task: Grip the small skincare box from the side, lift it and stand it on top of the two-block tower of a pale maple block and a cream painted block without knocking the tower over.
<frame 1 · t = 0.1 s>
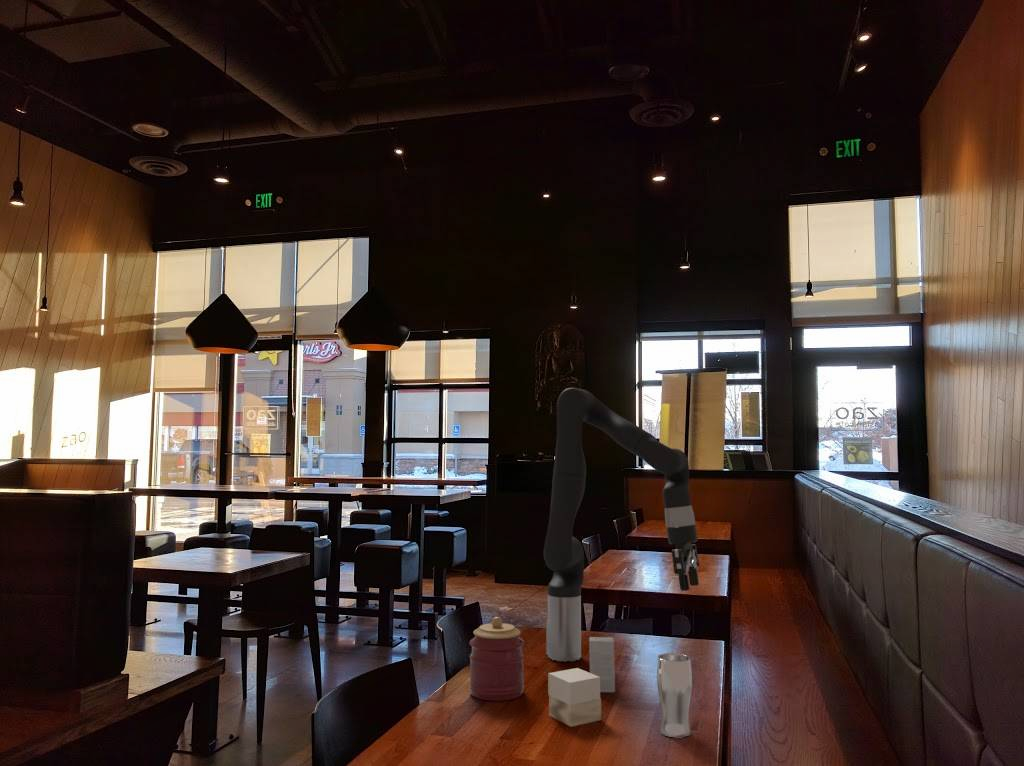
hand: (690, 587, 194), 22 cm above the table, tool pointing down, fingers open, 8 cm apart
canister: (496, 694, 178), on the table
tower top block: (574, 696, 162), point 4 cm above the table
beer glass: (675, 734, 153), on the table
skincare box: (602, 690, 181), on the table
tower bottom block: (574, 718, 162), on the table
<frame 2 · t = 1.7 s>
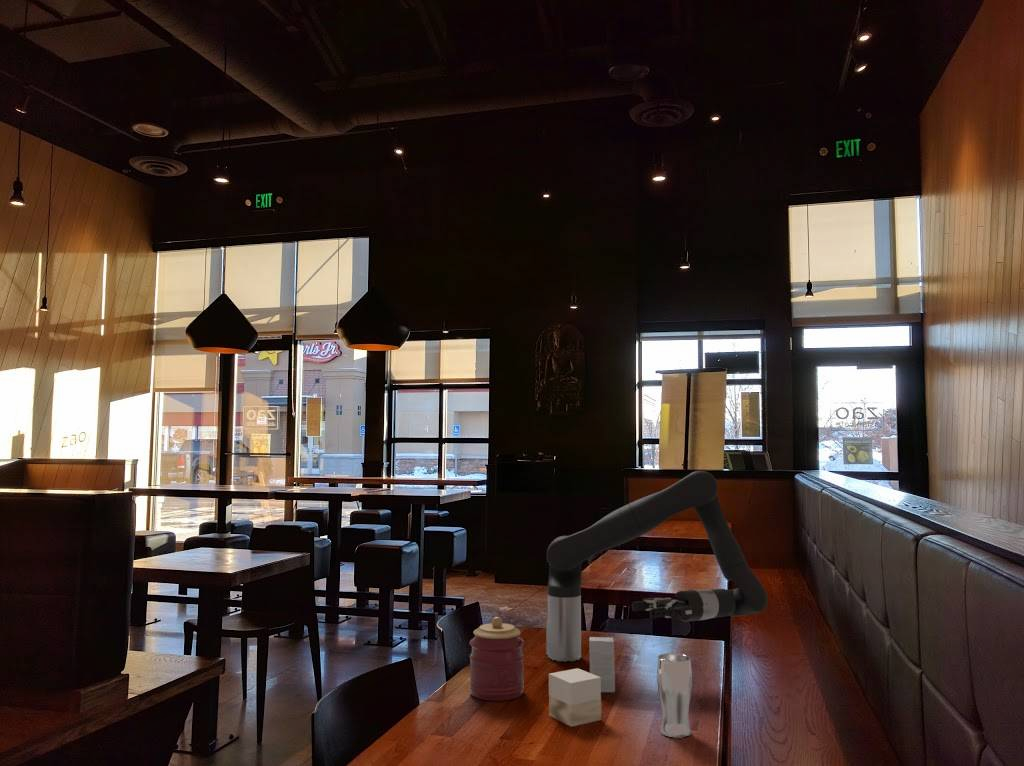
hand: (641, 610, 187), 18 cm above the table, tool horizontal, fingers open, 8 cm apart
tower top block: (574, 696, 162), point 4 cm above the table, touching tower bottom block
tower bottom block: (575, 718, 162), on the table, touching tower top block
everything else where it was.
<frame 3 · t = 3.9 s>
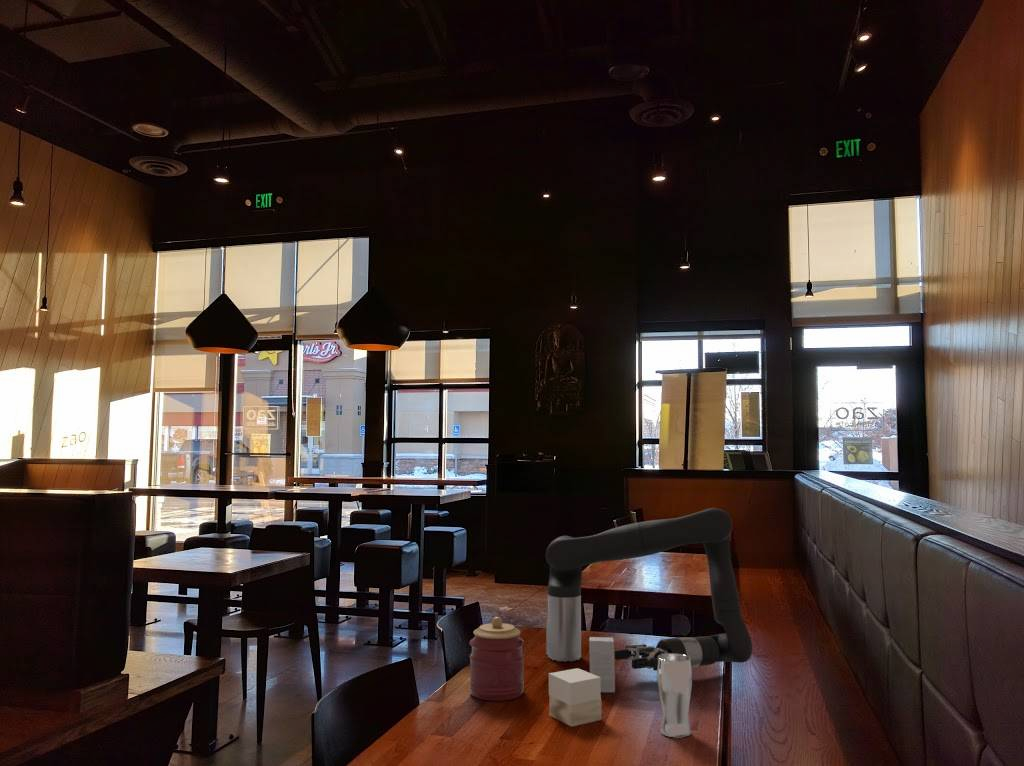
hand: (623, 659, 184), 7 cm above the table, tool horizontal, fingers open, 8 cm apart
nothing on the table moved.
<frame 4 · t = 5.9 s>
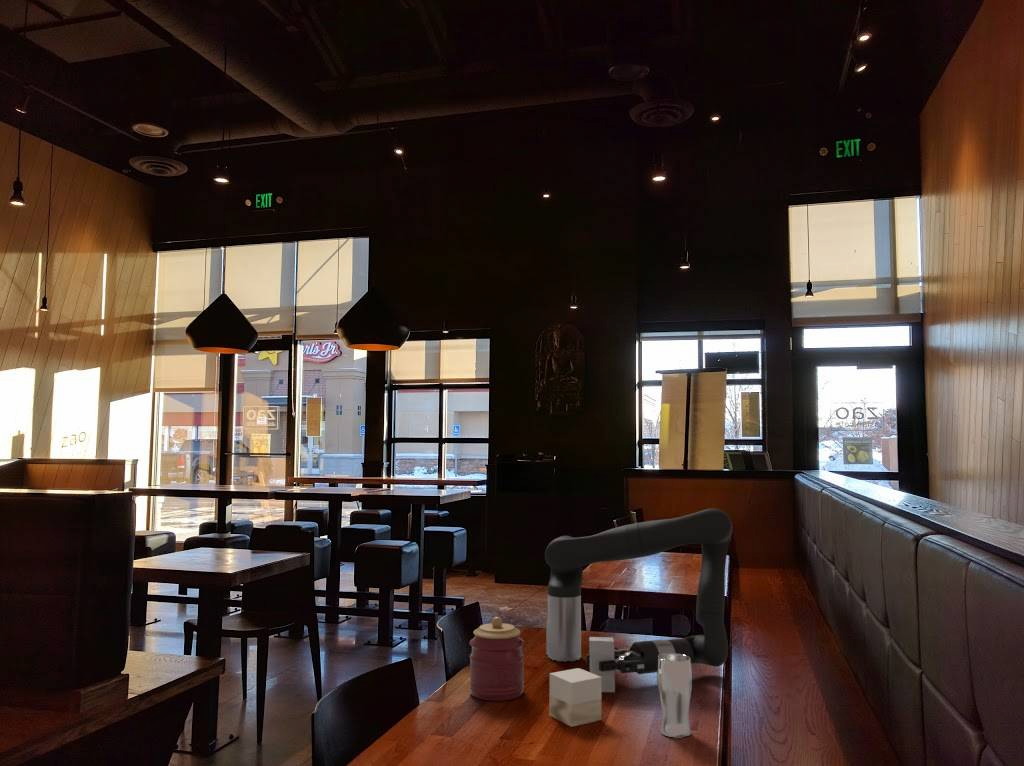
hand: (593, 662, 181), 7 cm above the table, tool horizontal, fingers closed on skincare box, 6 cm apart
tower top block: (575, 696, 162), point 4 cm above the table
skincare box: (602, 690, 181), on the table, touching gripper
tower bottom block: (575, 718, 162), on the table
everything else where it was.
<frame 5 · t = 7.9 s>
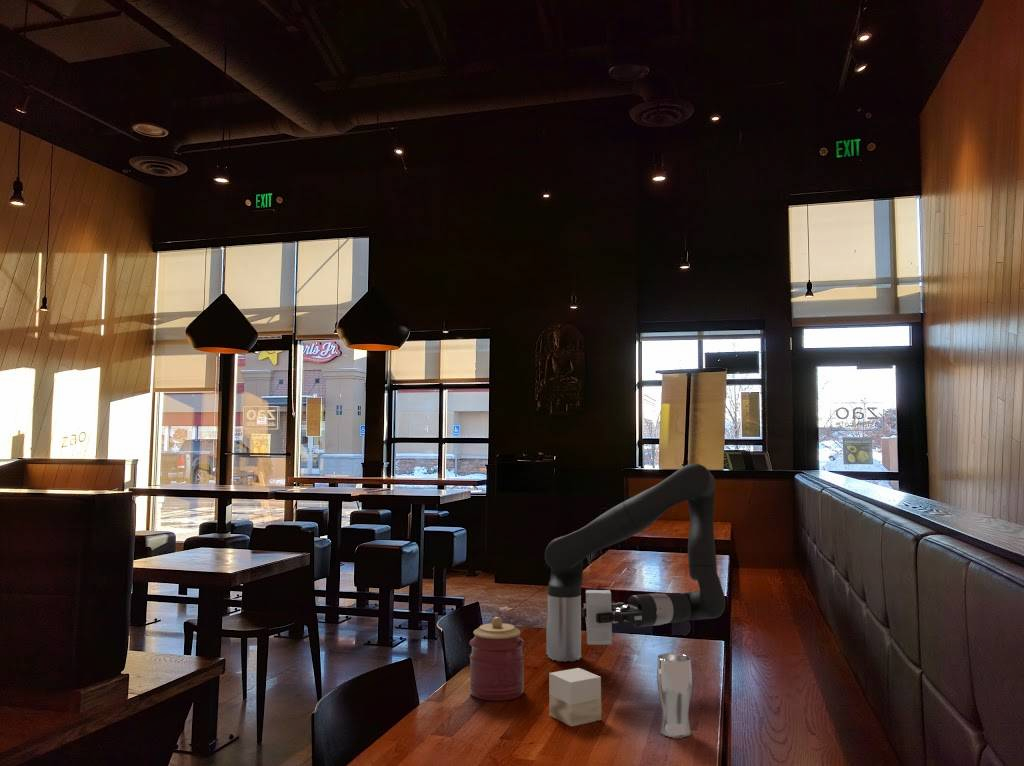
hand: (589, 615, 178), 18 cm above the table, tool horizontal, fingers closed on skincare box, 6 cm apart
tower top block: (574, 696, 163), point 4 cm above the table, touching tower bottom block
skincare box: (599, 643, 179), point 12 cm above the table, touching gripper
tower bottom block: (575, 718, 162), on the table, touching tower top block
everything else where it was.
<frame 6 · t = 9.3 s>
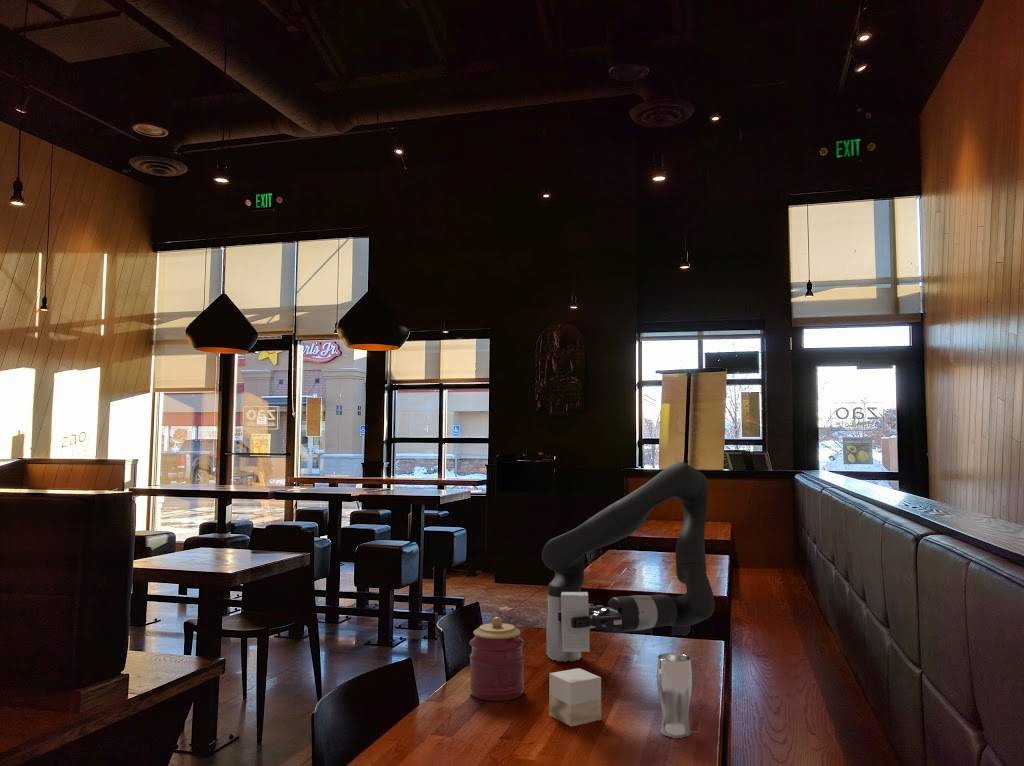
hand: (565, 619, 163), 21 cm above the table, tool horizontal, fingers closed on skincare box, 6 cm apart
skincare box: (575, 650, 163), point 14 cm above the table, touching gripper
everything else where it was.
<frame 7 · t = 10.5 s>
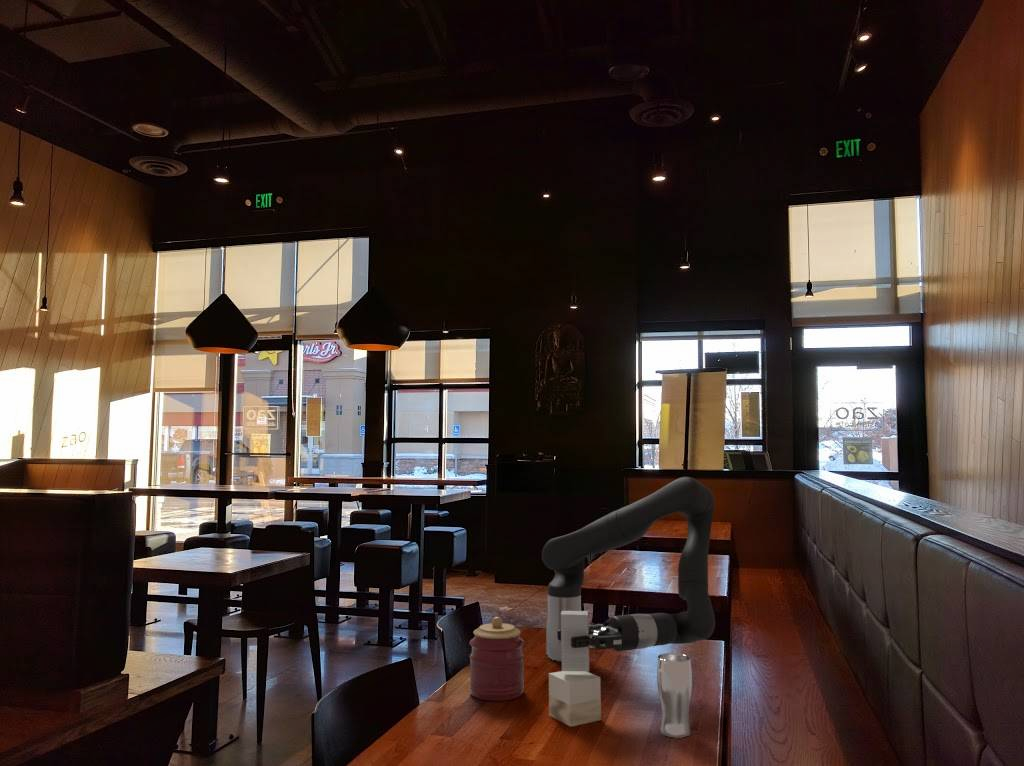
hand: (565, 639, 163), 17 cm above the table, tool horizontal, fingers closed on skincare box, 6 cm apart
skincare box: (575, 669, 163), point 10 cm above the table, touching gripper
everything else where it was.
when the fingers open (17 cm above the table, at t = 10.6 s): skincare box drops 1 cm, resting on tower top block.
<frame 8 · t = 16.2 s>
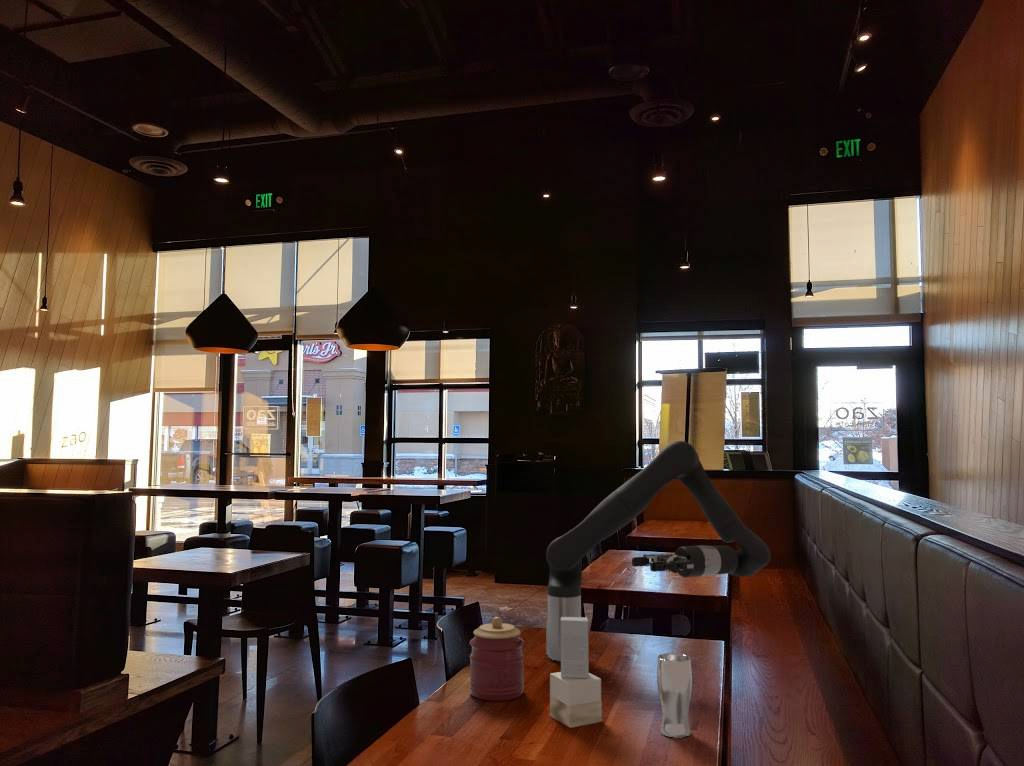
hand: (641, 564, 182), 30 cm above the table, tool horizontal, fingers open, 8 cm apart
tower top block: (575, 697, 161), point 4 cm above the table, touching skincare box, tower bottom block
skincare box: (574, 676, 162), point 9 cm above the table, touching tower top block
everything else where it was.
at the end: skincare box 0.2 cm off-centre on the tower top block, point 4.3 cm above the tower top block's base; skincare box tilted 1°; tower top block 0.1 cm off-centre on the tower bottom block, point 4.5 cm above the tower bottom block's base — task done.
